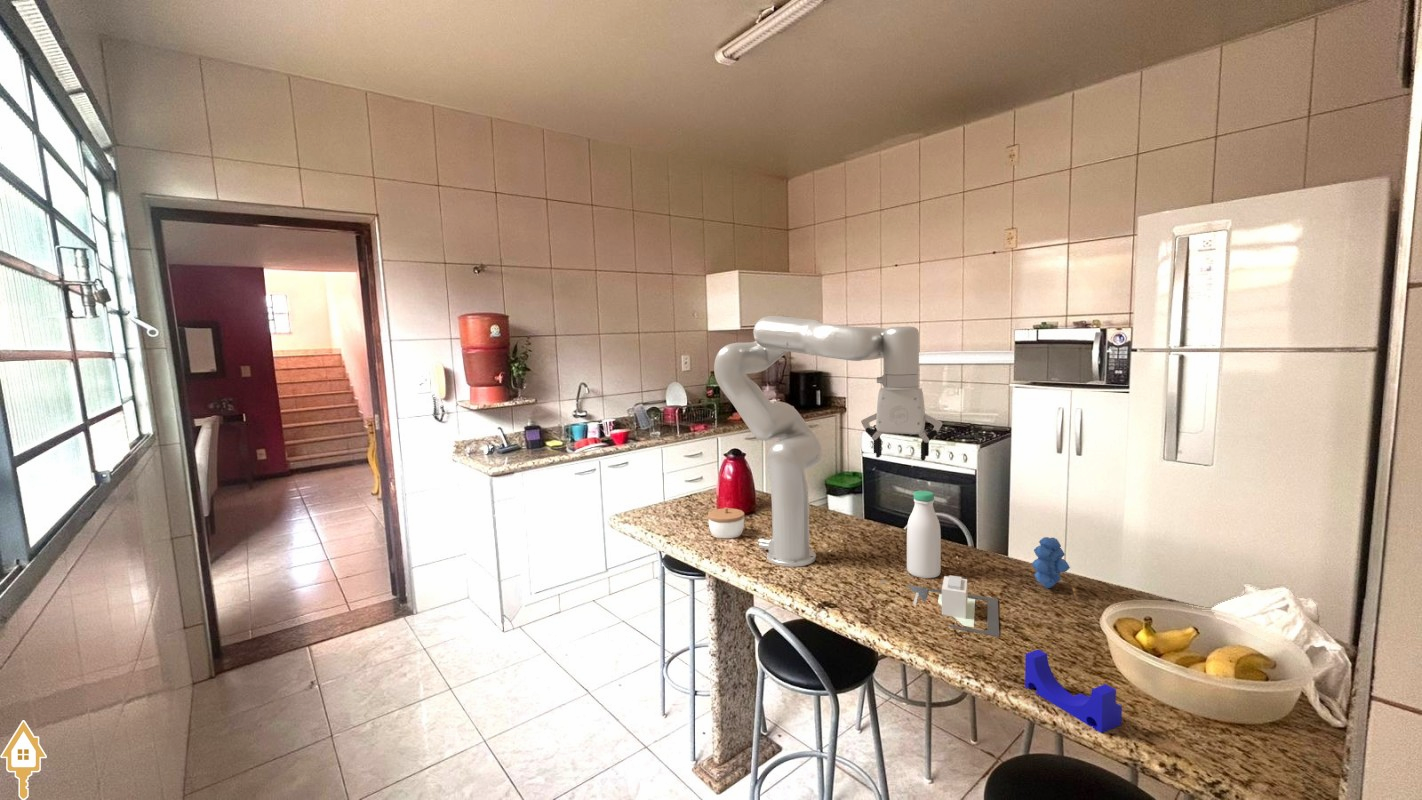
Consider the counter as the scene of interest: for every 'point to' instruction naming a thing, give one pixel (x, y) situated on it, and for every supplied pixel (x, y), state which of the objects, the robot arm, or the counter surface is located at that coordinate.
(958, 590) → the plug
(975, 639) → the counter surface
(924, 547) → the milk bottle
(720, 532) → the lidded jar
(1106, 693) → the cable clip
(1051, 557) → the grapes
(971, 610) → the port pad
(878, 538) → the counter surface
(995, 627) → the two-window grey frame
